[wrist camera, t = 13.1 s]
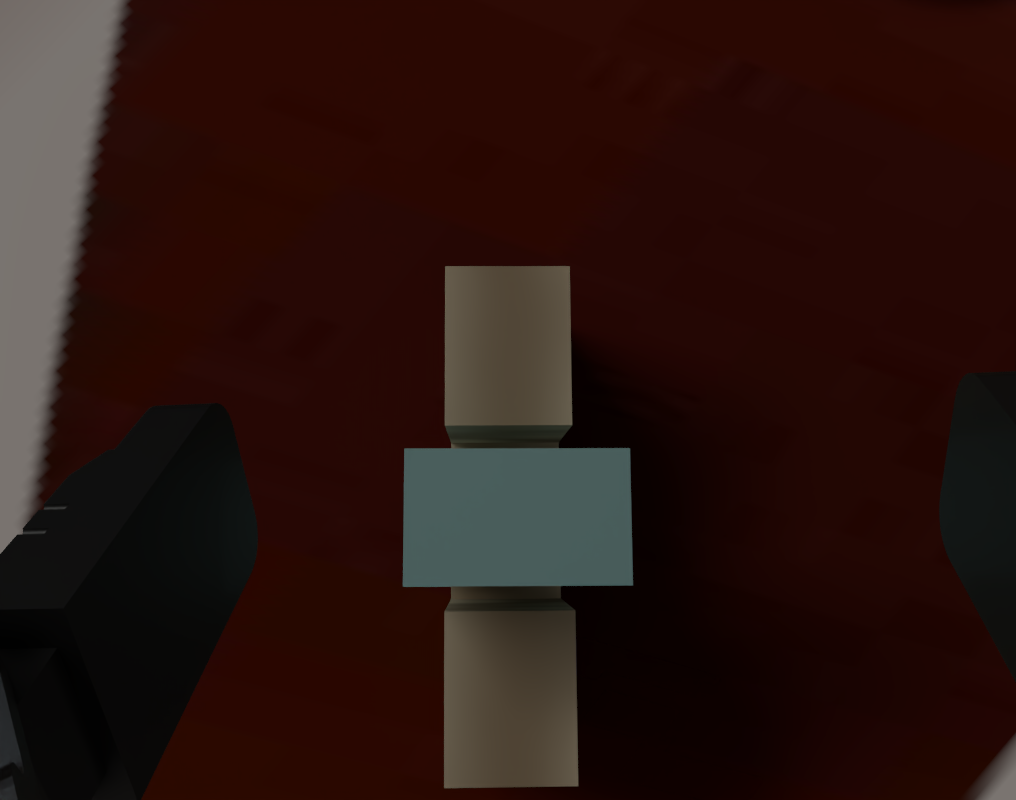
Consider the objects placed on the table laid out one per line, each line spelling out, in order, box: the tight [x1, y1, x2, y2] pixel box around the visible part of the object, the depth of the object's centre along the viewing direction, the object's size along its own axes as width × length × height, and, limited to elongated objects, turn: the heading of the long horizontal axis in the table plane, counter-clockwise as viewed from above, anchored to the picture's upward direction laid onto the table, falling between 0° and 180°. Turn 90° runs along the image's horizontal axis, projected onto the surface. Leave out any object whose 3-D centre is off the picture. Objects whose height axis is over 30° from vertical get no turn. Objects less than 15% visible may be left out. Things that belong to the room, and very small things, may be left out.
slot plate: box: [444, 266, 578, 788], centre depth 29 cm, size 4×14×7 cm, turn 1°
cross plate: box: [403, 448, 633, 587], centre depth 26 cm, size 5×3×10 cm, turn 90°
